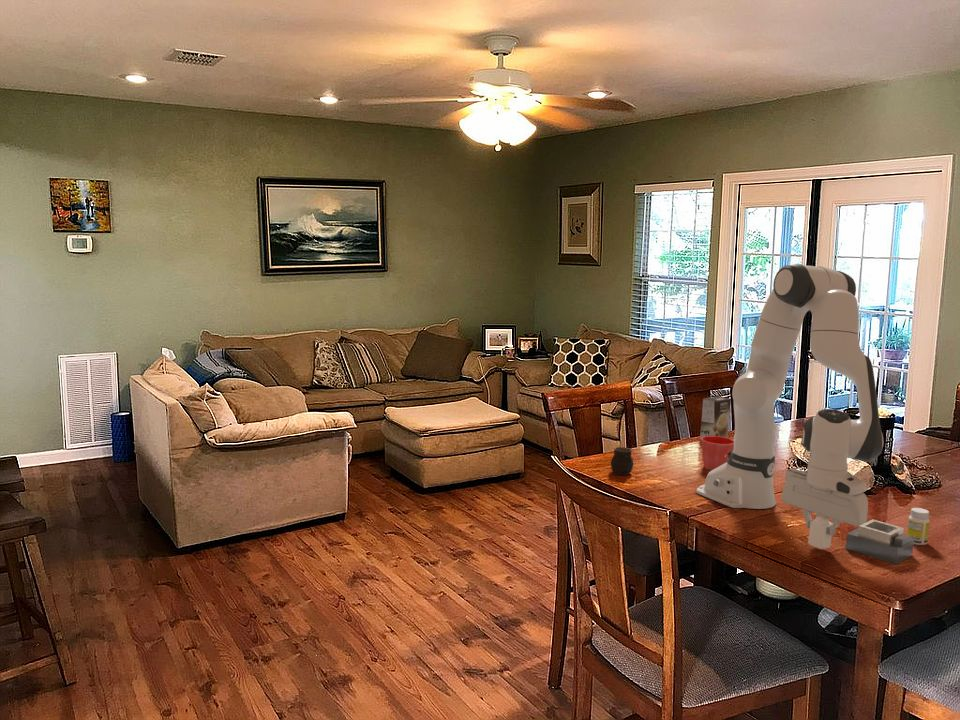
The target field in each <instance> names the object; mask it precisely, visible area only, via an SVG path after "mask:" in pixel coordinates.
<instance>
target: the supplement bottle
mask: <svg viewBox="0 0 960 720" xmlns="http://www.w3.org/2000/svg"><path fill="white" fill-rule="evenodd" d="M929 515H930V511H929V510H928V509H924V508H921V507H912V508H911V509H910V515H908V518H907V527H906V528H907V531H906V535H908V536H910V539H912V540H914V543H913V545H917V546H924V545H925V546H926V545H927V544H928V543H929V532H930V524H931V523H930V522H931V521H930V518H929Z"/></svg>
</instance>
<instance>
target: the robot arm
mask: <svg viewBox="0 0 960 720" xmlns="http://www.w3.org/2000/svg"><path fill="white" fill-rule="evenodd" d="M856 285H857V284H856V282H855V280H854V278H853V277H852V276H851V275H850V274H847V273H845V272H844V271H841V270H834V269H831V268H828V267H824V266H818V265H817V266H814V265H806V264H805V265H804V264H800V263H790V264H786V265H783V266H782V267H781V268H780V269H779V270H778V271H777V272H776V275H775V277H774V279H773V285H772V287H773V288H772V290H771V292H770V294H769V295H768V297H767V300H766V301H765V304H764V306H763V308H762V310H761V313H760V316H759V318H758V319H759V320H758V322H757V326H756V329H755V332H754V334H753V338H752V341H751V344H750V345H751V346H750V347H751V348H750V354H749V361H748V363H747V367H746V371H745V372H744V373H743V374H742V375H740V376H739V377H737V379H736V380H735V382H734V384H733V386H732V393H731V394H732V399H733V400H732V402H733V415H734V437H733V440H734V449H733V451H730V452H729V453H726V454H727V455H726V454H725V455H726V456H725V457H728V460H727V462H726V463H724V464H722V465H721V466H719V467H717V468H715V469H714V470H709V472H708V473H707V475H706V478H705V481H704V484H701V485H700V486H698V487H697V488H696V491H695V493H696V494H698V495H700V496H703V497H705V498H707V499H710V500H712V501H715V502H718V503H720V504H722V505H724V506H727V507H730V508H733V509H743V508H744V509H752V510H754V509H755V510H756V509H757V510H762V509H763V510H764V509H766V510H767V509H770V508H774V507H775V506H776V498H775V492H774V474H775V467H776V466H775V464H776V455H775V443H776V433H777V430H776V429H777V428H776V421H775V403H776V400H777V399H779V398H780V396H781V395H782V394H783V390H784V387H785V383H786V381H787V380H786V379H787V376H788V371H789V369H790V364H791V358H792V355H793V353H794V349H795V347H796V346H795V345H797V344H796V342H797V341H798V338H799V334H800V331H801V328H802V325H803V322H804V318H805V316H806V314H807V313H808V312H809V311H810V313H811V316H812V318H811V327H810V337H809V338H810V340H809V341H810V342H809V343H810V344H809V345H810V352H811V354H812V357H813V358H814V359H815V361H817V362H818V363H819V364H820V365H822V366H823V367H825V368H827V369H829V370H832V371H833V372H836V373H837V374H841V375H842V376H844V377H846V378H848V379H849V380H850V381H851V382H852V383H853V384H854V385H855V387H856V388H855V389H856V392H857V404H858V412H859V418H858V419H851V417H850V415H849V414H847V413H846V412H844V411H841V410H840V409H835V408H834V409H833V408H825V409H820V410H819V411H817V413H816V414H815V416H811V417H809V418H808V419H807V420H805V421H804V422H803V423H802V426H803V429H802V437H801V442H800V445H801V446H802V447H803V448H804V449H805V450H806V451H807V452H808V453H810V457H809V458H808V461H807V471H806V470H802V469H798V468H796V467H792V468H789V469H787V470H786V472H785V477H784V480H785V483H784V486H783V489H782V493H781V499H782V502H783V503H784V504H786V505H790V506H793V507H796V508H799V509H802V515H803V518H804V520H805V528H808V529H810V524H811V521H813V520H814V519H813V518H812V517H813V516H812V514H811V513H814V514H816V513H817V514H820V515H823V516H826V517H829V519H831V523H832V524H833V525H832V526H830V527H827V528H826V534H828V535H831V536H832V537H833V536H835V535H836V530H837V528H838V527H839V526H840V525H841V524H842V523H845V524H847V525H848V524H849V525H852V526H854V527H859V526H860V525H862V524H864V523H866V522H867V521H868V513H869V511H868V510H869V501H868V497H867V495H866V494H865V493H864V492H866V491H867V490H868V484H867V483H866V482H865V481H864V480H863V479H860V478H859V477H857V476H855V475H854V474H853V473H851V472H849V471H848V468H849V466H848V465H849V464H848V459H852V460H856V461H861V462H866V463H868V462H870V461H873V460H874V459H876V458H877V457H879V456H880V455H881V454H882V451H883V447H884V435H883V432H882V426H881V422H880V414H879V407H878V406H879V405H878V398H877V397H878V395H877V388H876V380H875V373H874V372H875V371H874V367H873V363H872V360H871V359H870V357H869V356H867V355H866V354H864V353H863V351H862V349H861V346H860V342H859V331H860V316H859V307H858V306H859V305H858V300H857V297H856V292H857V286H856Z"/></svg>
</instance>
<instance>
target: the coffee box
mask: <svg viewBox="0 0 960 720" xmlns="http://www.w3.org/2000/svg"><path fill="white" fill-rule="evenodd" d="M731 400H732V399H731V398H729V397H723V396H712V397H711V396H709V397H704V398H702V409H701V424H700V435H699V436H700V437H699V440H700V441H701V438H702V437H706V436H719V437H725V438H729V427H730V416H731V414H730V413H731V402H732V401H731Z"/></svg>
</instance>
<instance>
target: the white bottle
mask: <svg viewBox="0 0 960 720" xmlns="http://www.w3.org/2000/svg"><path fill="white" fill-rule="evenodd" d="M812 520H813V521H811V524H810V528H809V532H808V539H807V542H808V545H810V546H811V547H814V548H816V549H818V550H824V549H828V548H830V547H831V546H832V545H831V544H832V538H833V536H831V535H828V534H826V528H827V527H830V526H832V525H833V524H834V523H832V522H831V521H830V518H829V517H826V516H823V515H820V514H817V513H815V519H812Z"/></svg>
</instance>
